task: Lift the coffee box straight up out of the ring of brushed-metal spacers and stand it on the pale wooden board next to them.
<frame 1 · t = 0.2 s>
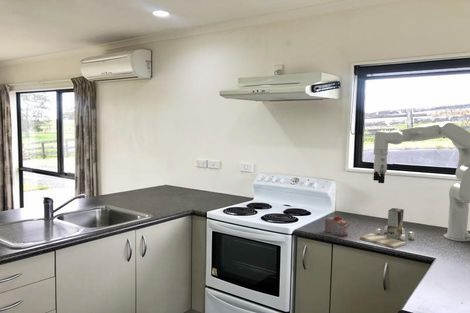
hand: (378, 181, 225), 30 cm above the worktop, tool pointing down, fingers open, 9 cm apart
food item: (336, 234, 224), on the worktop
coffee box: (394, 238, 219), on the worktop
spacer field: (394, 237, 219), on the worktop
board: (382, 241, 211), on the worktop
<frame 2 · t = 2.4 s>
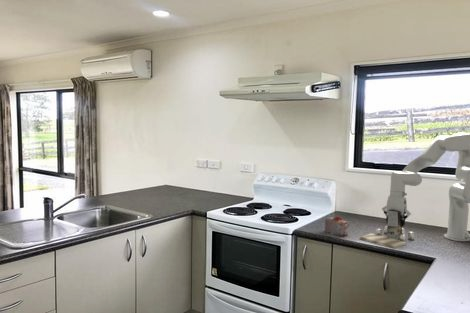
hand: (395, 224, 218), 7 cm above the worktop, tool pointing down, fingers closed on coffee box, 7 cm apart
coffee box: (394, 238, 219), on the worktop, touching gripper
everything else where it was.
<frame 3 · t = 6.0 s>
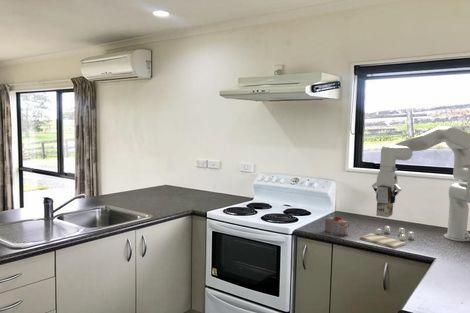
hand: (385, 201, 209), 22 cm above the worktop, tool pointing down, fingers closed on coffee box, 7 cm apart
coffee box: (384, 215, 210), point 14 cm above the worktop, touching gripper
everything else where it was.
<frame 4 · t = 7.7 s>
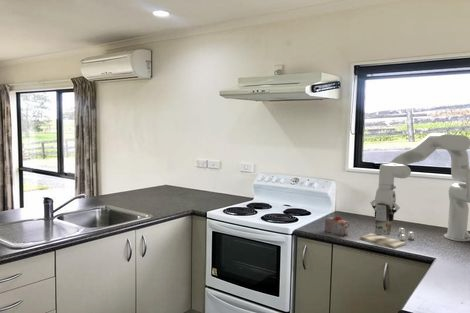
hand: (383, 219, 210), 12 cm above the worktop, tool pointing down, fingers closed on coffee box, 7 cm apart
coffee box: (382, 233, 210), point 5 cm above the worktop, touching gripper
everything else where it was.
when the fingers open (10 cm above the worktop, at t = 9.2 s): coffee box drops 1 cm, resting on board.
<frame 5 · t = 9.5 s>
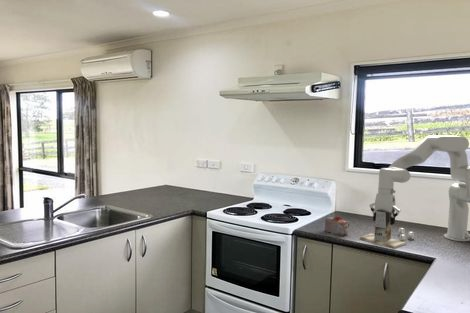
hand: (383, 222, 210), 11 cm above the worktop, tool pointing down, fingers open, 9 cm apart
coffee box: (382, 239, 211), point 1 cm above the worktop, touching board
everything else where it was.
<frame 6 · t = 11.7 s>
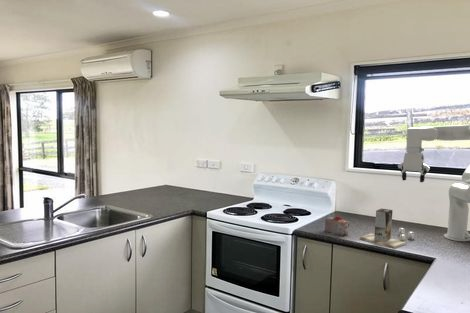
hand: (412, 181, 214), 33 cm above the worktop, tool pointing down, fingers open, 9 cm apart
nothing on the worktop moved.
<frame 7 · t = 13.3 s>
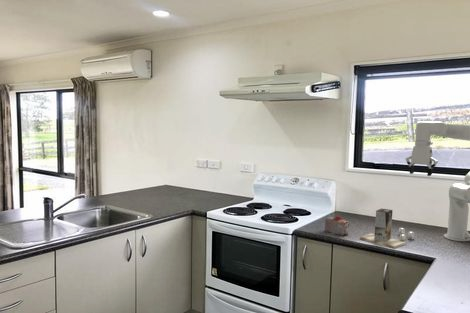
hand: (420, 174, 216), 36 cm above the worktop, tool pointing down, fingers open, 9 cm apart
nothing on the worktop moved.
at the end: coffee box inside the target area on the board (0.3 cm from its centre), point 1.0 cm above the board's base; coffee box tilted 0°; the gripper is holding nothing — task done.
